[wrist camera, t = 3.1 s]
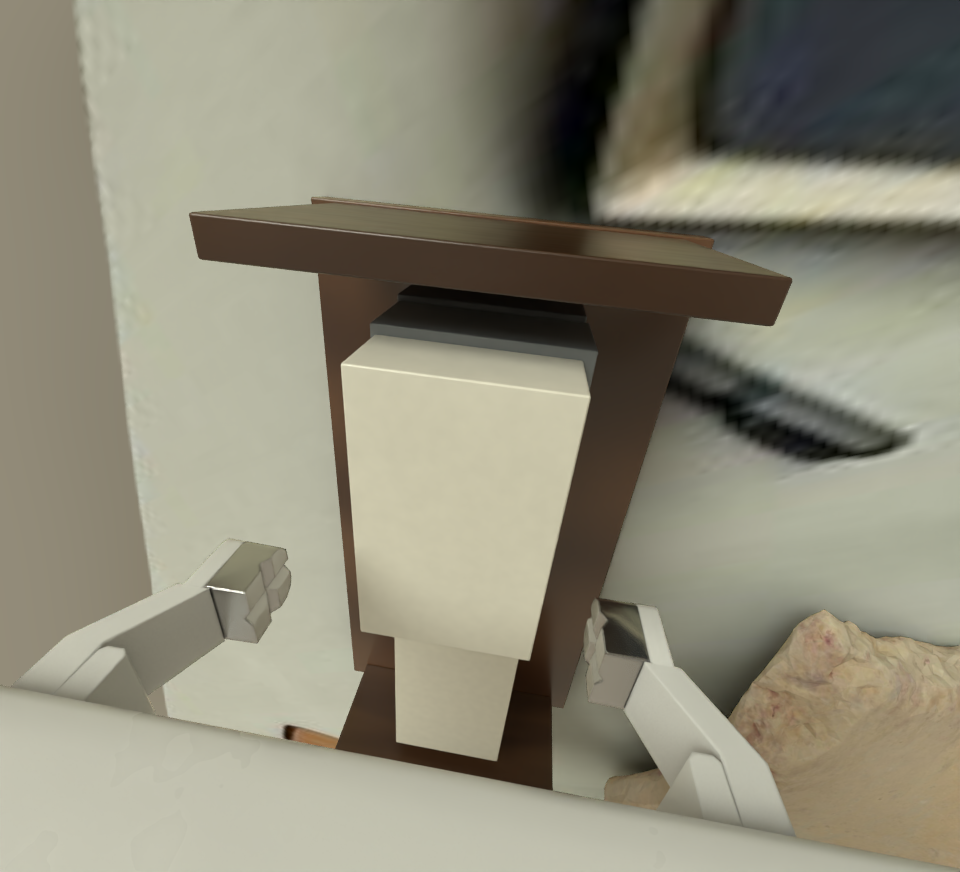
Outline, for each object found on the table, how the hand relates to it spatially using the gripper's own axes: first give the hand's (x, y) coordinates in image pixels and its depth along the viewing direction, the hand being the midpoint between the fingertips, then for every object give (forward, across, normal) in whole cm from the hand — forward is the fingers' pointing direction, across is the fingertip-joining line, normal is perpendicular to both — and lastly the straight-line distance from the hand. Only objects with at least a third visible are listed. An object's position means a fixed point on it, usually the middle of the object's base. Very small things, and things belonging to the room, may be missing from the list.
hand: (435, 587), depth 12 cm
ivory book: (+4, 0, 0) cm, 4 cm away
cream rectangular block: (+10, 0, +15) cm, 18 cm away
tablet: (+12, -24, +22) cm, 34 cm away
